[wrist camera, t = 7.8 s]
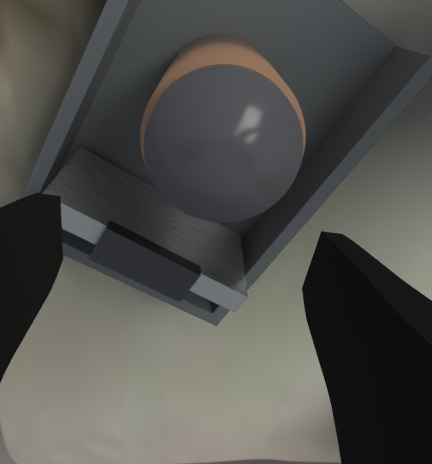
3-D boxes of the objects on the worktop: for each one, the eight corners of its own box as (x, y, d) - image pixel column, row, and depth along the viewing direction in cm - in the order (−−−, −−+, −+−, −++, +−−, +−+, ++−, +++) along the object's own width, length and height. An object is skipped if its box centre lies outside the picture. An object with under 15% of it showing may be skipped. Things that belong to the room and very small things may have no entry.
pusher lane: (402, 53, 18) (441, 66, 15) (215, 283, 24) (216, 326, 21) (183, -128, 14) (176, -159, 11) (36, 193, 21) (6, 228, 18)
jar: (290, 49, 17) (337, 84, 11) (258, 160, 19) (280, 240, 13) (173, 20, 16) (149, 38, 10) (155, 137, 19) (126, 211, 13)
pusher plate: (243, 231, 21) (252, 301, 16) (226, 252, 22) (231, 326, 17) (83, 141, 19) (38, 194, 14) (69, 168, 19) (23, 228, 14)
